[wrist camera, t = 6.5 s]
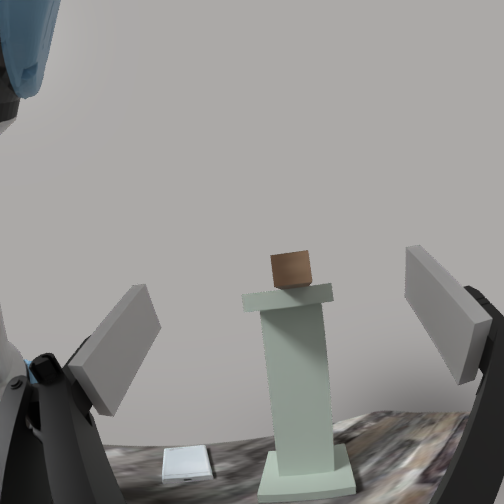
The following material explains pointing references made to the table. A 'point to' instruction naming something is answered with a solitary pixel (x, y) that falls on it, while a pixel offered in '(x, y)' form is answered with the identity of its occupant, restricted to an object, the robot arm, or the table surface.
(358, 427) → the table surface
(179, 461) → the hard drive
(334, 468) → the sage stand
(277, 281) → the walnut bar
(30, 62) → the robot arm
